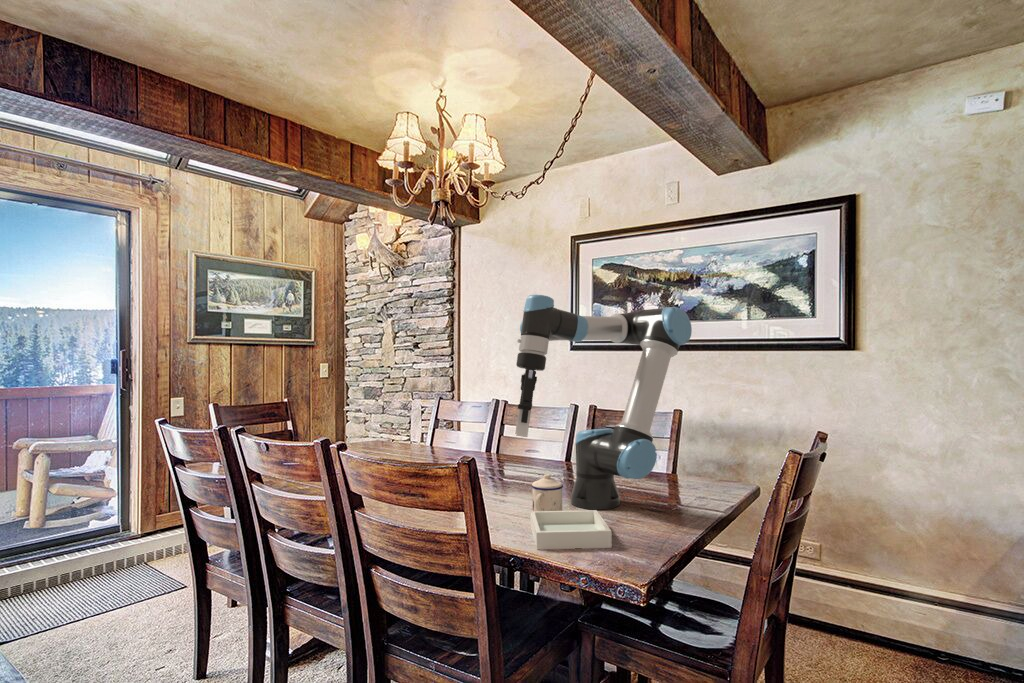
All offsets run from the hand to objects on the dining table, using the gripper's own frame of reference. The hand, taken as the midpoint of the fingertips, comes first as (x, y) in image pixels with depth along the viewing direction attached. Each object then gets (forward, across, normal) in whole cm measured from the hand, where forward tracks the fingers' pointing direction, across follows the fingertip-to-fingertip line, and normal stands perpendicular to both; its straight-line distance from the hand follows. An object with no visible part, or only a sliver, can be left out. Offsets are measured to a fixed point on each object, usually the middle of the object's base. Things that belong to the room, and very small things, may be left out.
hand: (520, 435), depth 140 cm
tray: (+23, -2, +16) cm, 28 cm away
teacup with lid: (+23, -20, +11) cm, 32 cm away
